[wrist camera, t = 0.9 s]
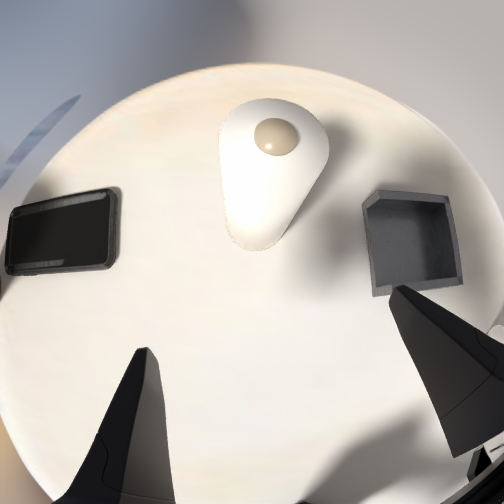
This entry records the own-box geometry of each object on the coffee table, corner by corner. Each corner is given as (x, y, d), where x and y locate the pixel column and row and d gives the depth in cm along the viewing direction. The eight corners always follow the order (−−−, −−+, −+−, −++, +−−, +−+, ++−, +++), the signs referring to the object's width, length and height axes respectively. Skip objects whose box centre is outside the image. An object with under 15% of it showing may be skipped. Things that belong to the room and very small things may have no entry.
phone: (10, 208, 23) (115, 186, 24) (16, 211, 24) (119, 191, 25) (4, 276, 22) (111, 269, 23) (10, 277, 23) (116, 271, 24)
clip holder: (429, 207, 27) (447, 196, 23) (441, 288, 25) (463, 284, 21) (361, 204, 26) (377, 189, 23) (372, 296, 24) (392, 294, 21)
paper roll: (296, 219, 25) (350, 136, 12) (259, 263, 24) (288, 209, 11) (251, 184, 26) (266, 81, 13) (213, 225, 25) (194, 139, 12)
